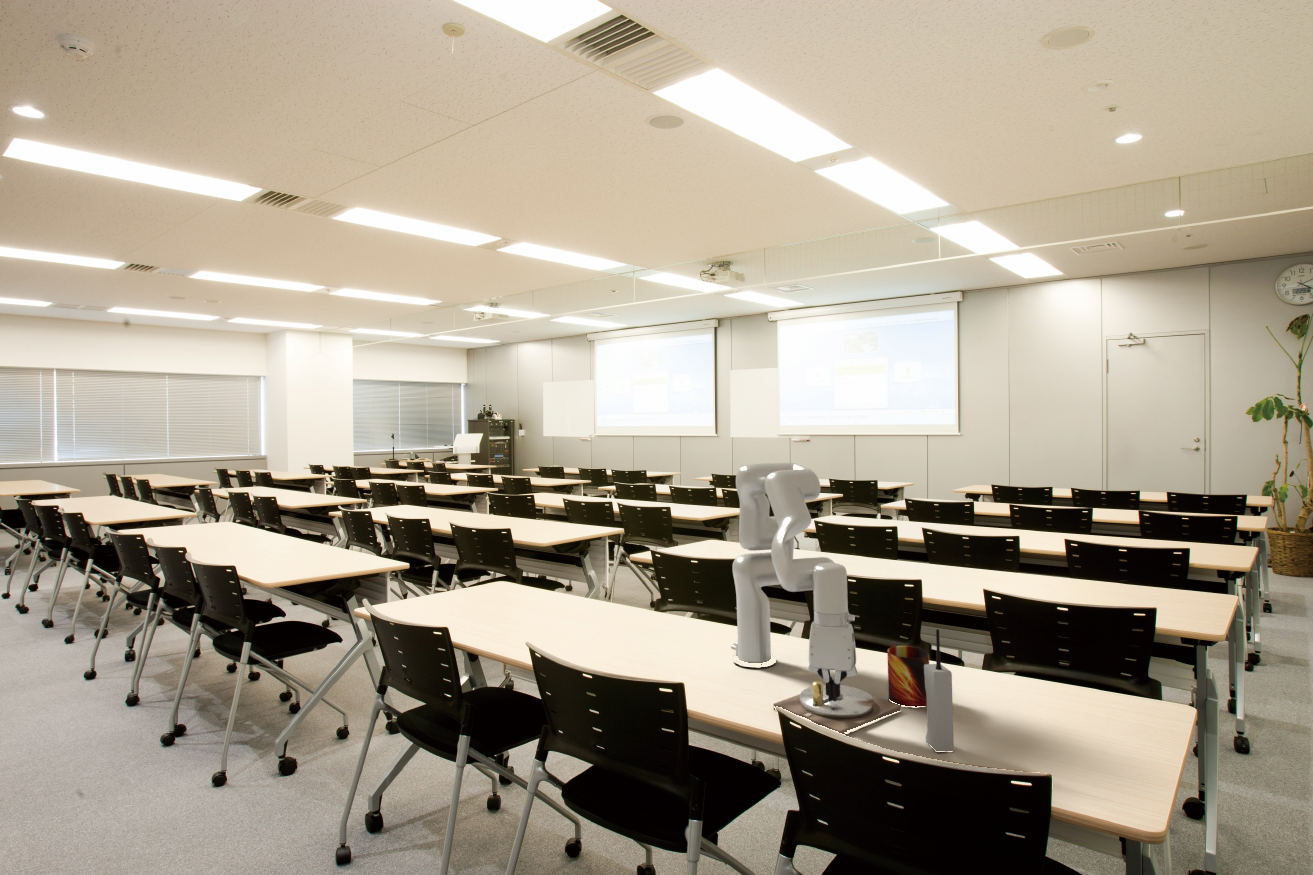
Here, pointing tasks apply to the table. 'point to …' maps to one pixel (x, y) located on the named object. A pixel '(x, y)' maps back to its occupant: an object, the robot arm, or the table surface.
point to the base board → (840, 724)
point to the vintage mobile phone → (939, 704)
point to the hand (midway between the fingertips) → (833, 698)
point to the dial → (845, 706)
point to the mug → (907, 675)
